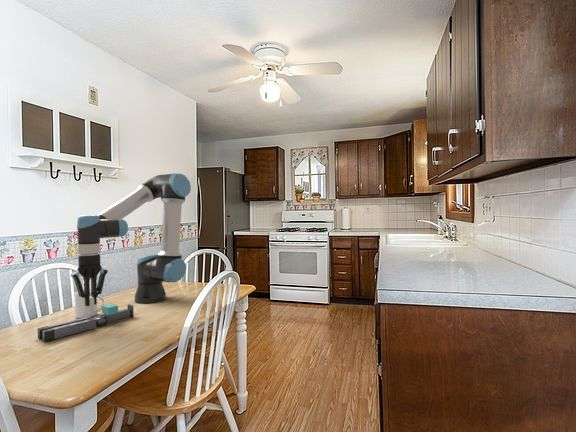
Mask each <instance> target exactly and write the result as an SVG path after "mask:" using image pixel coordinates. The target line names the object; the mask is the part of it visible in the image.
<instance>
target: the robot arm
mask: <svg viewBox="0 0 576 432" xmlns="http://www.w3.org/2000/svg"><path fill="white" fill-rule="evenodd" d="M190 182H191V181H190V179H188V177H187V176H186V175H185V174H184V173H176V172H175V173H169V174H158V175H155V176H153V177H151V178H149V179H147V180H146V181H144V182H142V183H141V184H140V185H138V187H137V189H136V190H134V191H132V192H131V193H129V194H128V195H127V196H125V197H124V198H122V199H120V200H119V201H117V202H116V203H114V204H113V205H111V206H109V207H107V209H105V210H103V211H102V212H100V213H98V214H96V215H95V214H94V215H93V214H92V215H79V216H78V217H77V224H76V229H77V249H78V250H77V251H78V252H77V253H78V258H77V259H78V267H77V270H76V271H75V272H74V273H71V275H70V276H71V277H72V279H73V281H74V284H75V288H76V292H77V291H78V294H79V296H80V297H82V298H85V306H87V309H88V314H90V315H91V314H94V305H96V303H97V304H98V300H97V301H96V297H97V296H98V295H101V294H102V292H103V287H104V284H105V283H104V282H105V280H106V276H107V274H108V272H109V270H108V269H104V268H103V267H102V264H101V254H100V253H101V239H106V238H107V239H108V238H120V237H125V236H126V235H127V234H128V231H129V225H128V224H129V223H128V222H127V221H126V220H124V218H125V217H127V216H129V215H131V214H132V213H134V212H135V211H136V210H137V209H138V208H140V207H142V206H143V205H144V204H146V203H148V202H149V203H151V202H152V201H154V200H155V199H158V198H159V199H160V201H162V203H163V213H162V226H161V229H162V230H161V243H160V251H159V252H158V253H156V254H149V255H143V256H139V257H138V258H137V261H136V262H137V264H136V266H137V288H136V291H135V294H134V298H133V299H134V303H137V304H152V303H158V302H162V301H164V300H166V298H167V293H166V290H165V288H164V285H163V282H166V283H168V284H169V283H177V282H180V281H181V280H182V278H184V276H185V274H186V271H187V264H186V262H185V261H184V259H183V255H182V253H181V252H180V240H181V239H180V238H181V224H182V208H183V207H182V206H183V204H184V203H185V201H186V197H187V196H189V194H190V193H191V189H192V185H191V183H190ZM80 277H82V280H83V285H82V282H81V279H80ZM97 280H98V281H97ZM90 289H91V296H90ZM83 290H84V291H83Z"/></svg>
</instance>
